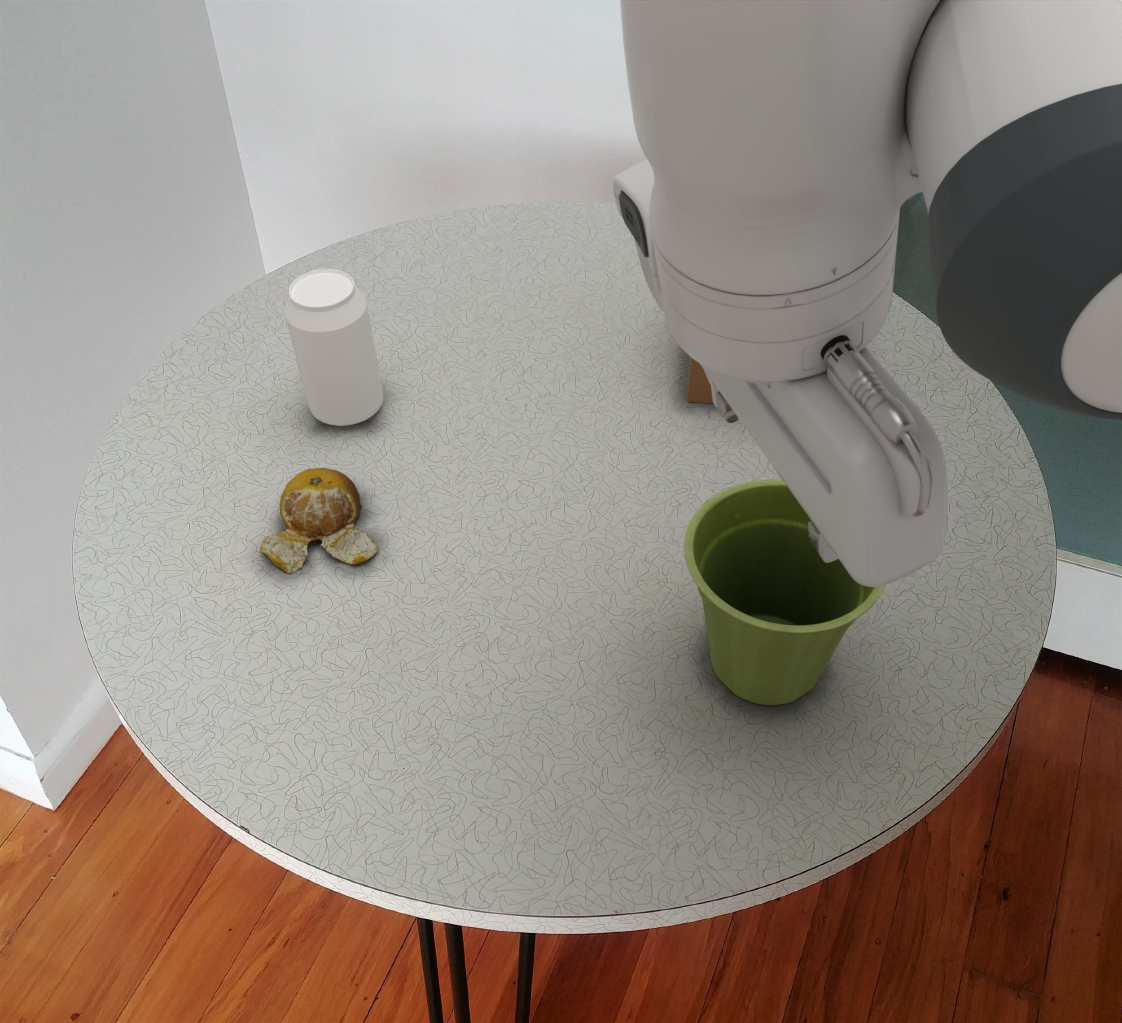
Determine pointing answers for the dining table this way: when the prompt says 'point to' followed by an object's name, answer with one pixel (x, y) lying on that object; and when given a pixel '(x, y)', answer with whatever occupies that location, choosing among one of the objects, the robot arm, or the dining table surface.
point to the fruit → (319, 520)
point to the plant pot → (768, 592)
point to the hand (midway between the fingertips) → (781, 474)
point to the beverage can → (334, 347)
